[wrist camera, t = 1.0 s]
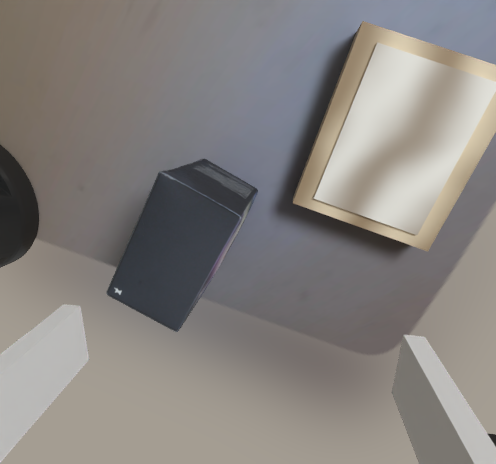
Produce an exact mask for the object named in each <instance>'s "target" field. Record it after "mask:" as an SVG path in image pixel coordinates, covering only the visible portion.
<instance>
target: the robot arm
mask: <svg viewBox="0 0 496 464" xmlns="http://www.w3.org/2000/svg"><path fill="white" fill-rule="evenodd" d="M38 222H39V214H38V205H37V200H36V197H35V193H34V190H33V188H32V185H31V183H30V181H29V179H28V177H27V175H26V174H25V172H24V170H23V169H22V167H21V166H20V165H19V163H18V162H17V161H16V160H15V158H14V157H13V156H12V155H11V154H10V153H9V152H8V151H7V150H6V149H5V148H4V147H2V146H1V145H0V267H3V266H5V265H7V264H9V263H12V262H14V261H16V260H17V259H19V258H21V257H22V256H23V255H24V254H25V253H26V252H27V251H28V250H29V249H30V247H31V246H32V244H33V242H34V240H35V237H36V234H37V230H38ZM88 360H89V356H88V350H87V343H86V337H85V331H84V325H83V319H82V312H81V307H80V306H76V305H62V306H61V307H60V308H58V309H57V310H56V311H55V312H53V313H52V314H51V315H50V316H48V317H47V318H46V319H44V320H43V321H42V322H41V323H39V324H38V325H37V326H36V327H35V328H33V329H32V330H30V331H29V332H28V333H27V334H25V335H24V336H23V337H22V338H20V339H19V340H18V341H17V342H15V343H14V344H13V345H11V346H10V347H9V348H8V349H6V350H5V351H4V352H2V353H1V354H0V462H1V461H2V460H3V459H4V458H5V456H6V455H7V454H8V453H9V452H10V451H11V450H12V448H13V447H14V446H15V445H16V444H17V443H18V441H19V440H20V439H21V438H22V437H23V435H24V434H25V433H26V432H27V431H28V430H29V429H30V427H31V426H32V425H33V424H34V423H35V422H36V420H37V419H38V418H39V417H40V416H41V415H42V414H43V412H44V411H45V410H46V409H47V408H48V407H49V405H50V404H51V403H52V402H53V401H54V399H55V398H56V397H57V396H58V395H59V394H60V393H61V391H62V390H63V389H64V388H65V387H66V386H67V385H68V383H69V382H70V381H71V380H72V379H73V377H74V376H75V375H76V374H77V373H78V372H79V370H80V369H81V368H82V367H83V366H84V365H85V364H86V362H87V361H88ZM392 394H393V397H394V399H395V402H396V405H397V407H398V410H399V412H400V415H401V418H402V420H403V423H404V425H405V428H406V430H407V433H408V436H409V438H410V441H411V443H412V446H413V448H414V451H415V454H416V457H417V459H418V462H419V464H496V435H495V434H487V432H486V431H485V429H484V428H483V426H482V425H481V423H480V422H479V420H478V419H477V417H476V416H475V414H474V412H473V411H472V409H471V408H470V406H469V405H468V403H467V401H466V400H465V398H464V397H463V395H462V394H461V392H460V391H459V389H458V388H457V386H456V384H455V383H454V381H453V380H452V378H451V377H450V375H449V374H448V372H447V370H446V369H445V367H444V366H443V364H442V363H441V361H440V360H439V358H438V357H437V355H436V353H435V352H434V350H433V349H432V347H431V346H430V344H429V343H428V341H427V339H426V338H425V337H423V336H412V335H403V340H402V344H401V349H400V354H399V359H398V364H397V369H396V374H395V379H394V383H393V388H392Z"/></svg>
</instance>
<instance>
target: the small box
mask: <svg viewBox="0 0 496 464" xmlns="http://www.w3.org/2000/svg"><path fill="white" fill-rule="evenodd" d="M257 192H258V190H257V189H256V188H254V187H253V186H251V185H249V184H248V183H246V182H244V181H243V180H241V179H239V178H237V177H236V176H234V175H232V174H230V173H229V172H227V171H225V170H223V169H222V168H220V167H218V166H217V165H215V164H213V163H211V162H209V161H208V160H206V159H201V160H199V161H197V162H193V163H190V164H187V165H184V166H181V167H178V168H175V169H172V170H167V171H160V172H159V173H158V176H157V178H156V180H155V183H154V185H153V187H152V189H151V192H150V194H149V196H148V198H147V201H146V203H145V205H144V208H143V210H142V212H141V214H140V217H139V219H138V221H137V224H136V226H135V228H134V230H133V232H132V235H131V237H130V239H129V242H128V244H127V246H126V249H125V251H124V254H123V256H122V258H121V260H120V263H119V265H118V267H117V269H116V272H115V274H114V276H113V278H112V281H111V283H110V286H109V288H108V290H107V295H108V296H110V297H112V298H113V299H116V300H117V301H120V302H121V303H123V304H125V305H127V306H129V307H130V308H132V309H134V310H136V311H138V312H140V313H142V314H143V315H145V316H147V317H149V318H151V319H153V320H154V321H157V322H158V323H160V324H162V325H164V326H166V327H168V328H169V329H171V330H173V331H175V332H178V331H179V329H180V328H181V326H182V325H183V323H184V322H185V320H186V319H187V317H188V316H189V314H190V313H191V311H192V310H193V308H194V306H195V305H196V303H197V302H198V300H199V299H200V297H201V296H202V294H203V292H204V291H205V289H206V288H207V286H208V284H209V283H210V281H211V279H212V278H213V276H214V275H215V273H216V271H217V270H218V268H219V266H220V265H221V263H222V261H223V259H224V258H225V256H226V254H227V252H228V250H229V248H230V247H231V245H232V243H233V241H234V239H235V237H236V235H237V233H238V232H239V230H240V228H241V226H242V224H243V222H244V220H245V218H246V216H247V214H248V212H249V210H250V208H251V206H252V204H253V202H254V199H255V197H256V195H257Z"/></svg>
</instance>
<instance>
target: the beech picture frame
mask: <svg viewBox="0 0 496 464" xmlns="http://www.w3.org/2000/svg"><path fill="white" fill-rule="evenodd" d="M495 132H496V65H494V64H491V63H488V62H485V61H482V60H479V59H476V58H473V57H470V56H467V55H464V54H461V53H458V52H455V51H452V50H449V49H445V48H442V47H439V46H436V45H433V44H430V43H427V42H424V41H421V40H418V39H415V38H412V37H409V36H406V35H403V34H400V33H397V32H394V31H391V30H388V29H385V28H382V27H379V26H376V25H373V24H370V23H367V22H364V21H363V22H362V23H361V25H360V27H359V29H358V30H357V32H356V35H355V37H354V40H353V43H352V45H351V48H350V50H349V53H348V56H347V58H346V61H345V63H344V66H343V69H342V71H341V74H340V76H339V79H338V82H337V84H336V87H335V89H334V92H333V95H332V97H331V100H330V102H329V105H328V108H327V110H326V113H325V115H324V118H323V121H322V123H321V126H320V128H319V131H318V134H317V136H316V139H315V141H314V144H313V147H312V149H311V152H310V154H309V157H308V160H307V162H306V165H305V167H304V170H303V173H302V175H301V178H300V180H299V183H298V186H297V188H296V191H295V194H294V196H293V203H294V204H297V205H299V206H302V207H305V208H308V209H311V210H313V211H316V212H319V213H322V214H325V215H327V216H330V217H333V218H336V219H339V220H341V221H344V222H347V223H350V224H353V225H355V226H358V227H361V228H364V229H367V230H369V231H372V232H375V233H378V234H381V235H383V236H386V237H389V238H392V239H395V240H397V241H400V242H403V243H406V244H409V245H411V246H414V247H417V248H420V249H423V250H425V251H428V250H429V248H430V247H431V245H432V243H433V241H434V240H435V238H436V236H437V234H438V232H439V231H440V229H441V227H442V225H443V224H444V222H445V220H446V218H447V217H448V215H449V213H450V211H451V210H452V208H453V206H454V204H455V203H456V201H457V199H458V197H459V195H460V194H461V192H462V190H463V188H464V187H465V185H466V183H467V181H468V180H469V178H470V176H471V174H472V173H473V171H474V169H475V167H476V165H477V164H478V162H479V160H480V158H481V157H482V155H483V153H484V151H485V150H486V148H487V146H488V144H489V143H490V141H491V139H492V137H493V136H494V134H495Z"/></svg>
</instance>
